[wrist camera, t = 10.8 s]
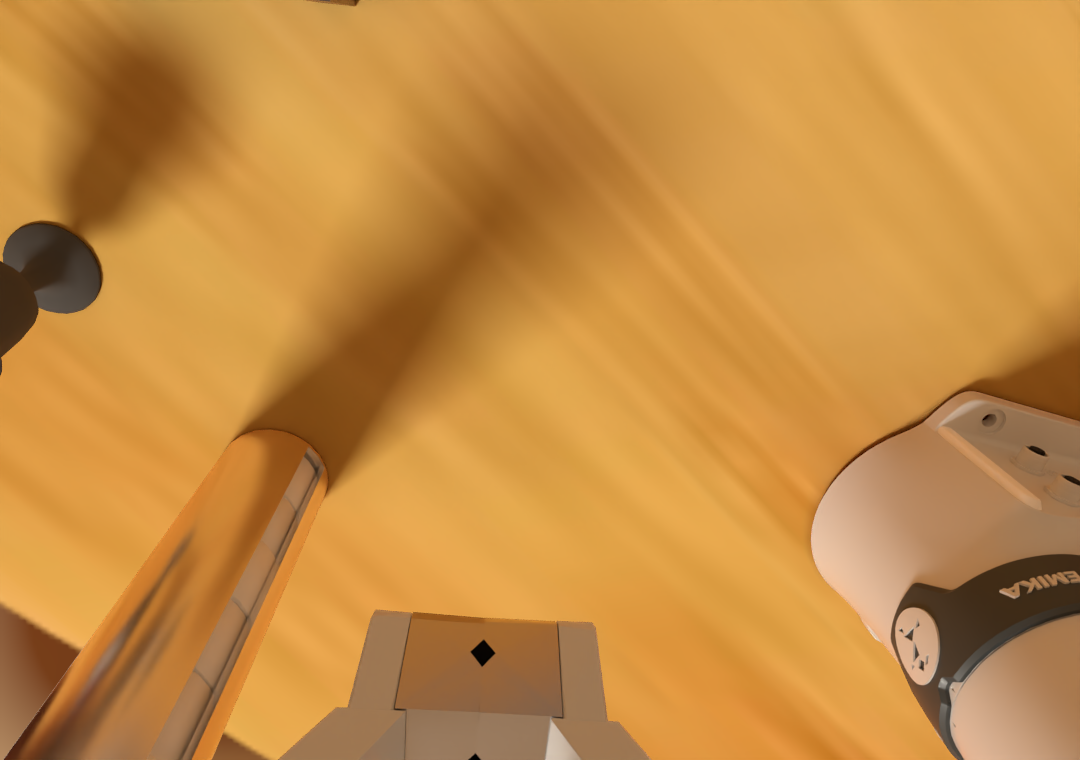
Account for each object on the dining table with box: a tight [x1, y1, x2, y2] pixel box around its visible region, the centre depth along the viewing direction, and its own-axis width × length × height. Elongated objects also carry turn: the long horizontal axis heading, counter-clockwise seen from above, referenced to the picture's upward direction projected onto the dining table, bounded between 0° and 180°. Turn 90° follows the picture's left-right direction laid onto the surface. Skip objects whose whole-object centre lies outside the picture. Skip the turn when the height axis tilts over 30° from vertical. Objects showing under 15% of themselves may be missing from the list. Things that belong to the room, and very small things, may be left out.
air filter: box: [4, 429, 328, 760], centre depth 34 cm, size 6×6×25 cm
